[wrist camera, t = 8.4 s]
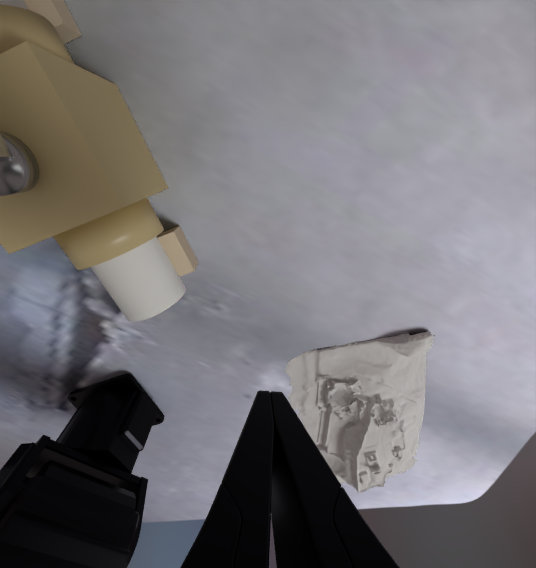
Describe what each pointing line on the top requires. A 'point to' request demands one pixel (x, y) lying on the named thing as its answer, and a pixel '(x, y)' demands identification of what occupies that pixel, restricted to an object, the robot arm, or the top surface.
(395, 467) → the grey stone relief
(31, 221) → the valve pipe
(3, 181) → the lever
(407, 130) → the top surface
